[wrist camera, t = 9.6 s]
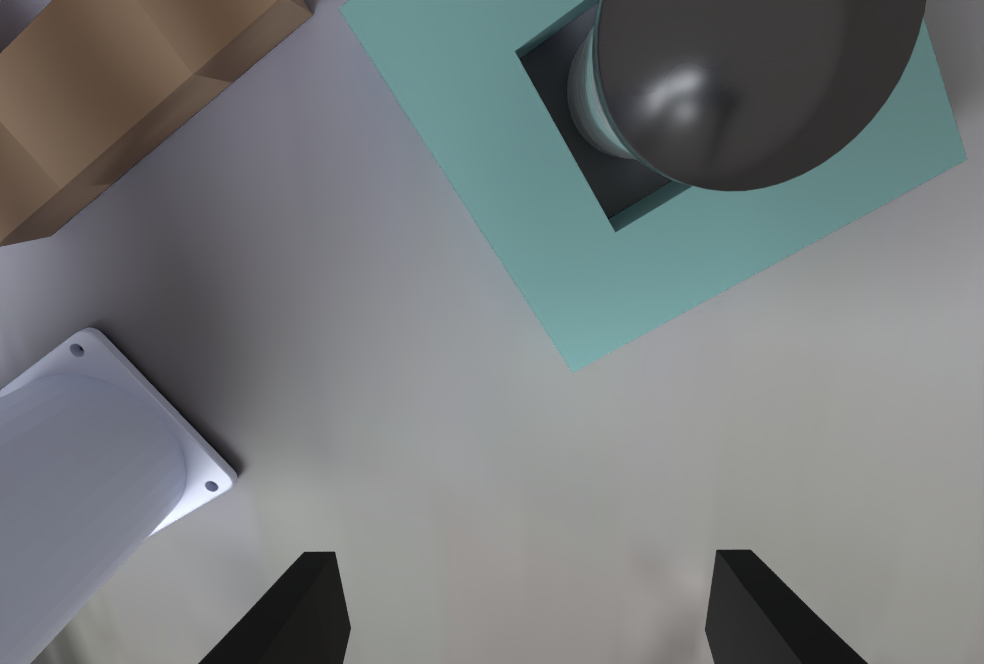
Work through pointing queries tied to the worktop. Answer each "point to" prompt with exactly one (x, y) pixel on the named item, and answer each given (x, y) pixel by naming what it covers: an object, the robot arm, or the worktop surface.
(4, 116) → the mount board
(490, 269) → the worktop surface
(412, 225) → the worktop surface
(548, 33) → the socket board
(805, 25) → the lock pin
